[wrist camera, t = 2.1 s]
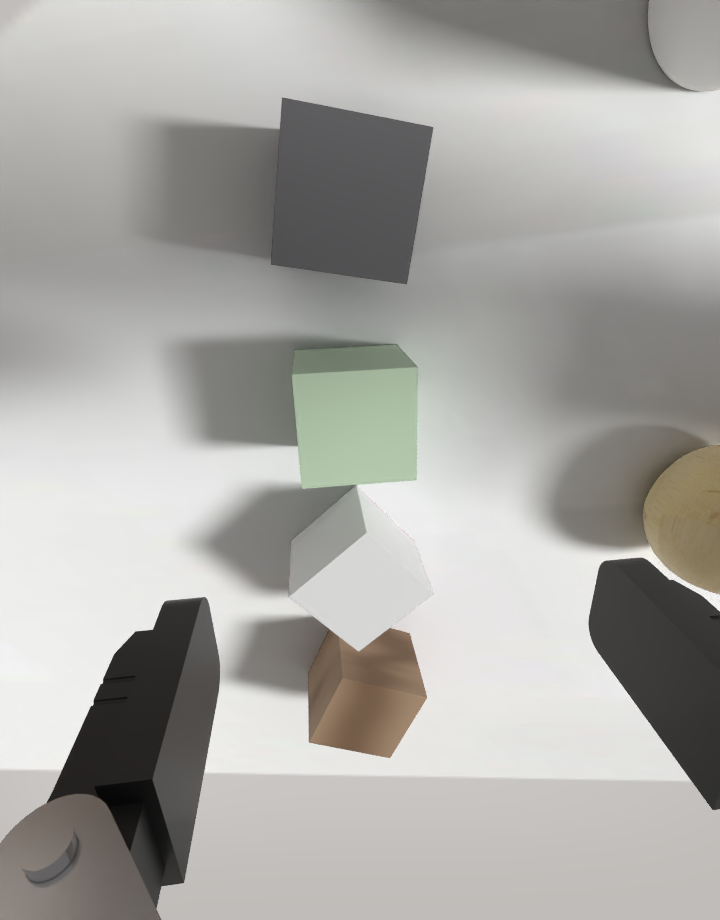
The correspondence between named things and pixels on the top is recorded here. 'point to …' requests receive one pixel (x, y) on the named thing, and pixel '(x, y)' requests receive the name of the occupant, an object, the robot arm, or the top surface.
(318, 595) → the grey block
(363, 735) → the walnut block
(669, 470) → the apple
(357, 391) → the sage block
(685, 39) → the mug
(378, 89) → the top surface
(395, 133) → the charcoal block
